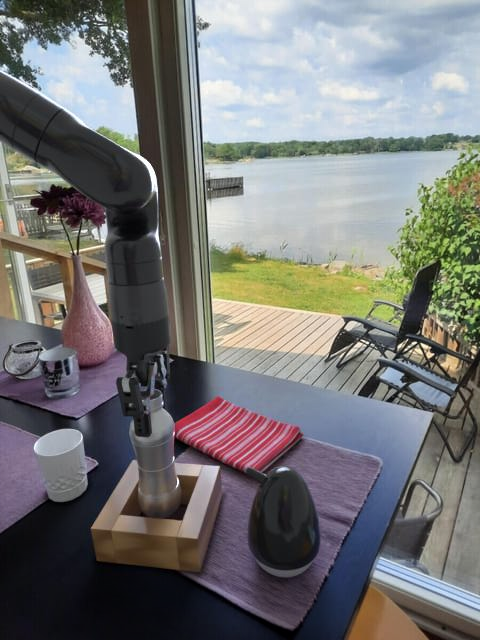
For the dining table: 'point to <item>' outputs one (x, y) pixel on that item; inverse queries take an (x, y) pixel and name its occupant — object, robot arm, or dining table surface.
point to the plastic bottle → (157, 463)
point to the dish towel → (236, 435)
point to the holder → (159, 522)
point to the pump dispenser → (283, 522)
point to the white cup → (62, 464)
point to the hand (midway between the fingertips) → (151, 422)
